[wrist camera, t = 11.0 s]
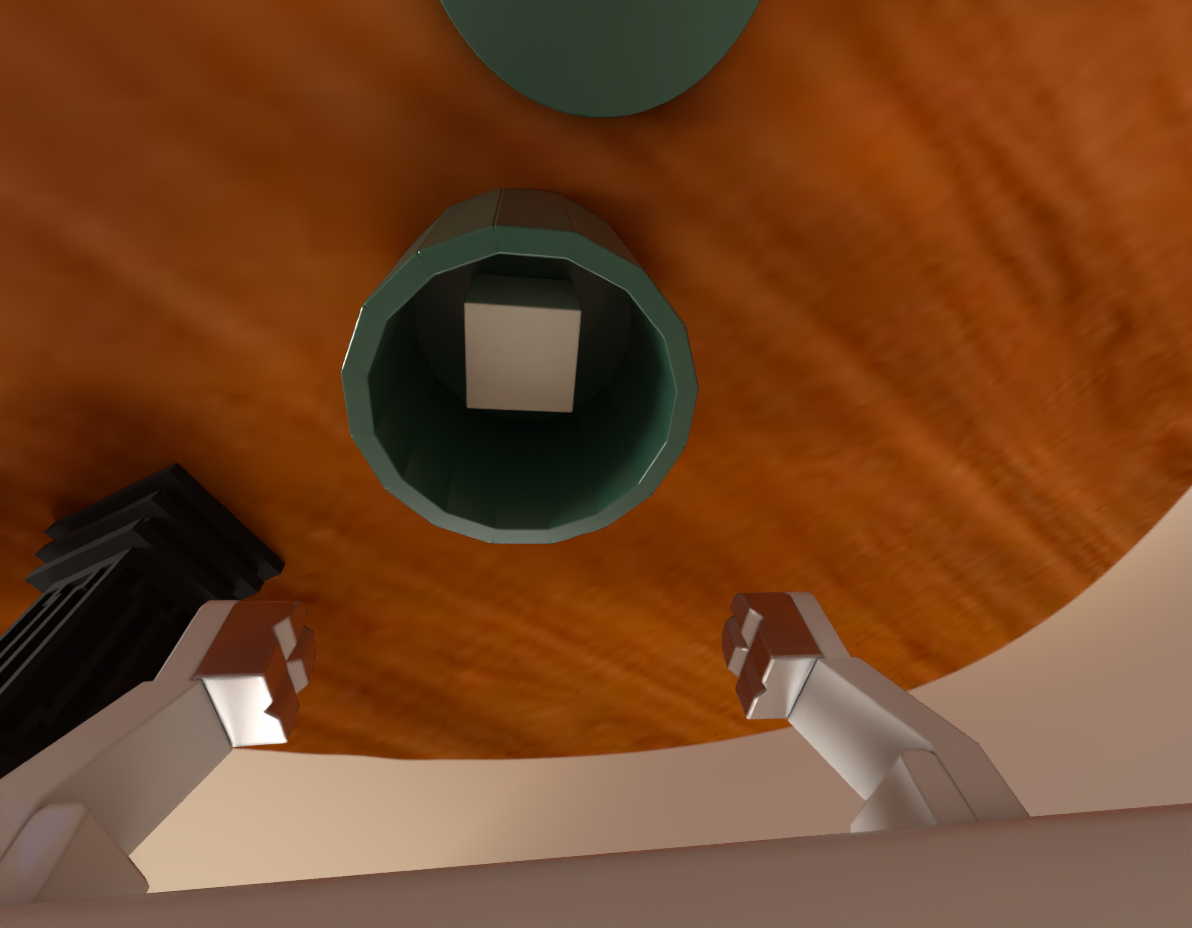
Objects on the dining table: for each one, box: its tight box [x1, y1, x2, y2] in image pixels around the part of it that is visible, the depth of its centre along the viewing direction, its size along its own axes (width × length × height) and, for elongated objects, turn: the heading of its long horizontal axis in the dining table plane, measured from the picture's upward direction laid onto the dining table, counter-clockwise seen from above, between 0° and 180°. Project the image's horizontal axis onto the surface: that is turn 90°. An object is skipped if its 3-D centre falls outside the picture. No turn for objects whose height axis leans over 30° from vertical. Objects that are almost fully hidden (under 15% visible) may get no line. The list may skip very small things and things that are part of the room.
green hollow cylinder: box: [341, 188, 698, 544], centre depth 23 cm, size 12×12×10 cm
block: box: [464, 273, 582, 412], centre depth 24 cm, size 4×4×4 cm
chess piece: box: [0, 463, 285, 779], centre depth 23 cm, size 8×8×20 cm
